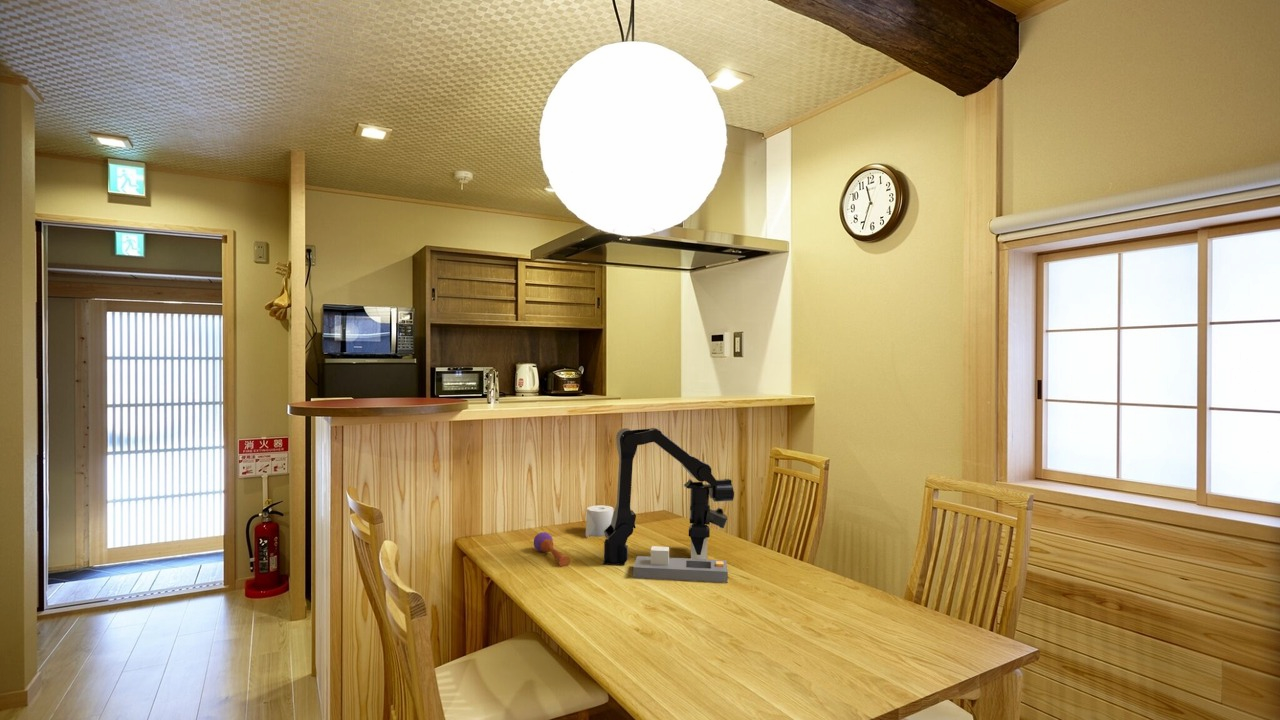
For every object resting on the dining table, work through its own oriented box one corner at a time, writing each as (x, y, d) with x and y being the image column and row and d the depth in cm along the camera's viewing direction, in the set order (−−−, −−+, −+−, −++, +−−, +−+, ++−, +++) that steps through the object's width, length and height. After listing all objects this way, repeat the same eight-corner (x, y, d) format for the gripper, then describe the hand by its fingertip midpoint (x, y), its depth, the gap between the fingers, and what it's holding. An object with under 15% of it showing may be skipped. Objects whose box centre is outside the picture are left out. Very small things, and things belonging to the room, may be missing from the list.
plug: (690, 559, 190) (690, 536, 190) (690, 555, 194) (691, 532, 194) (707, 560, 190) (707, 537, 190) (706, 556, 194) (707, 533, 194)
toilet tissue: (583, 539, 210) (584, 514, 210) (588, 528, 223) (589, 505, 223) (610, 540, 209) (610, 514, 209) (613, 529, 223) (614, 505, 223)
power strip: (633, 577, 173) (633, 552, 173) (637, 566, 183) (637, 542, 183) (727, 582, 170) (727, 557, 170) (726, 570, 180) (726, 546, 180)
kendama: (553, 555, 180) (529, 533, 197) (556, 574, 181) (532, 550, 198) (572, 548, 183) (547, 527, 200) (575, 567, 184) (549, 544, 201)
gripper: (727, 510, 182) (726, 563, 182) (724, 496, 200) (724, 545, 200) (688, 508, 183) (688, 561, 183) (690, 495, 202) (689, 543, 201)
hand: (698, 552), depth 192 cm, fingers closed on plug, 4 cm apart
